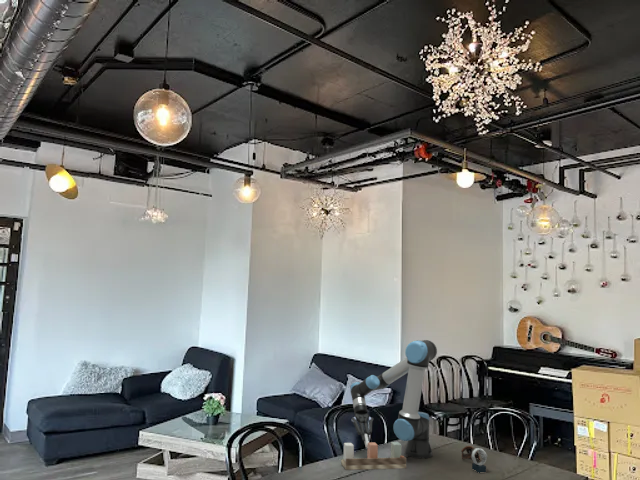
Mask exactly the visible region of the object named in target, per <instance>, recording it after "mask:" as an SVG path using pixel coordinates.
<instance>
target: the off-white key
mask: <svg viewBox="0 0 640 480" xmlns="http://www.w3.org/2000/svg"><path fill="white" fill-rule="evenodd" d="M354 447H355V445H354V444H353V443H352V442H344V443H343V459H344V460H345V462H346V459H354V455H355V454H354V453H355V451H354V450H355V448H354Z"/></svg>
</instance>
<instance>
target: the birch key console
mask: <svg viewBox="0 0 640 480" xmlns="http://www.w3.org/2000/svg"><path fill="white" fill-rule="evenodd" d="M340 461H341V462H340V463H341V464H340V465H342V466H343V468H344V469H345V471H348V470H349V471H351V470H352V471H354V470H359V471H360V470H391V469H407V457H406V456H404V455H402V454H401V456H400V458H391V457H378V458H367V457H365V458H363V457H362V458H361V457H359V458H353V459H346V462H345V460H344V459H341V460H340Z"/></svg>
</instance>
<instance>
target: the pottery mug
mask: <svg viewBox="0 0 640 480" xmlns="http://www.w3.org/2000/svg"><path fill="white" fill-rule="evenodd" d="M474 449H475V448H474V446H472V445H468V446H465V447H463V448H462V449H461V459H463V460H467V459H472V457H471V456H472V452H473V450H474ZM478 451H479V450H478ZM478 451H477V452H476V453H475V458H478V459H477V460H480V461H481V456H480V454H479V452H478ZM464 452H466V453H464Z"/></svg>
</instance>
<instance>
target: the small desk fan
mask: <svg viewBox="0 0 640 480" xmlns="http://www.w3.org/2000/svg"><path fill="white" fill-rule="evenodd" d="M477 451H478V453H479V456H480V458H481V459H482V460H480V461H479V462H477V459H476V458H475V453H476V452H477ZM471 457H472V458H471V459H472V462H473V463H472V464H471V470H472V469H474V470H476V471H477V472H476V471H475V472H476V473H478V472H479V473H478V474H481V473H480V472H486V473H487V466H486V465H484V464H486V462H487V458H488V454H487V452H486V451H485V450H484V449H483V448H479V447H476V448H474V450H473V452H472V456H471ZM474 470H473V471H474Z"/></svg>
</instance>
